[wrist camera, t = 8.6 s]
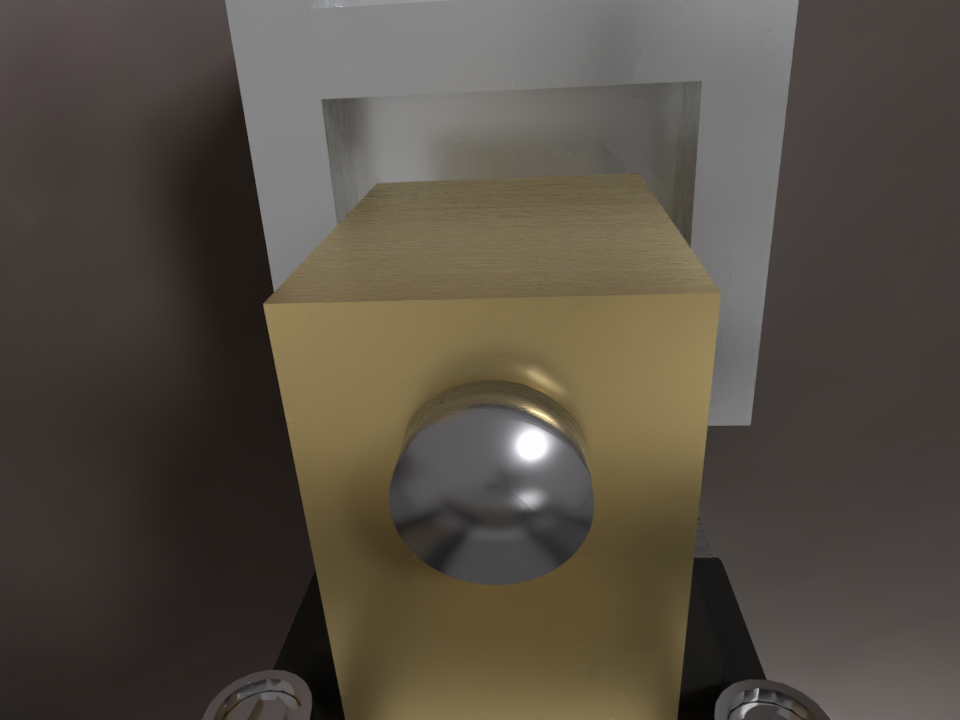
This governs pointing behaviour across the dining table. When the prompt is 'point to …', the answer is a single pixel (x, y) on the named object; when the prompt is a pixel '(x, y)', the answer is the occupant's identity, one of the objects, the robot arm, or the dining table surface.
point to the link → (501, 445)
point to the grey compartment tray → (530, 121)
